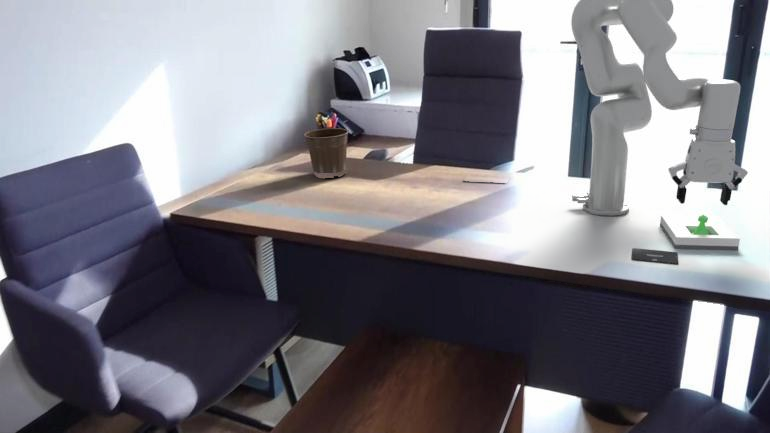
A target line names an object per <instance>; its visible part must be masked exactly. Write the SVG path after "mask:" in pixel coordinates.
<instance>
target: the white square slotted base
mask: <svg viewBox="0 0 770 433" xmlns="http://www.w3.org/2000/svg"><path fill="white" fill-rule="evenodd" d="M699 216H700V215H676V214H675V215H674V214H670V215H669V214H660V220H659V227H660V228H661V229H662V231H663V233H664V234H665V236H666V237H667V239H668V240H669V242H670V243H671V245H672V246H673V248H674V249H680V250H681V249H682V250H709V251H710V250H711V251H713V250H717V251H718V250H719V251H738V250H739V247H740V240H741V238H740V237H739V236H738V235H737V234H736V233H735V232H734V230H732V228H730V227H729V226H728V225H727V223H726V222H725V221H724V220H723V219H722V218H721V217H720V216H719V215H705V216H706V217H708V220H707V222H706V223H705V226H706V229H707V232H708V234H709V235H692V233H693V232H695V230H696V229H697V227H698V225H699V224H700V222H699V221H698V218H699Z"/></svg>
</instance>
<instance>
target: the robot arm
mask: <svg viewBox="0 0 770 433" xmlns="http://www.w3.org/2000/svg"><path fill="white" fill-rule="evenodd" d="M673 14H674V4H673V1H672V0H579V1H578V2H577V3H576V5H575V7H574V9H573V11H572V14H571V24H570V25H571V31H572V33H573V34H572V35H573V37H574V40H575V43H576V45H577V47H578V51H579V55H580V58H581V63H582V67H583V70H584V76H585V80H586V83H587V86H588V90H589V91H590V93H591V94H592V95H594V96H595V97H609V96H610V97H611V96H616V95H617V98H614V99H607V100H604V101H601V102H599V103H598V104H597V105H596V106H594V108H593V109H592V110H591V113H590V121H589V122H590V128H591V136H592V140H591V141H592V142H591V144H592V145H591V146H592V147H591V162H590V163H591V166H590V177H589V183H590V184H589V190H587V192H586V193H583V195H582V194H581V195H580V194H572V197H571V199H572V202H577V204H582V209H583V210H584V211H585V212H587V213H590V214H592V215H598V216H605V217H606V216H607V217H608V216H611V217H613V216H620V215H624V214H627V213H628V212H630V211H629V209H630V206H629V204H627V203H626V202H625V192H626V191H625V190H626V182H627V181H626V178H627V169H628V155H629V148H628V147H629V146H628V142H627V141H626V138H625V134H624V133H629V132H634V131H638V130H641V129H643V128H645V127H647V126H648V125H649V123H650V122H651V119H652V113H653V111H652V104H651V100H650V96H649V92H648V90H649V91H650V93H651V94H652V96H653V97H654V98H655V100H656V101H657V102H658V103H659V104H660V106H662V107H663V108H665V109H666V110H671V111H676V110H677V111H679V110H684V109H690V108H697V107H699V112H698V118H697V124H696V125H695V127H694V128H690V129H689V135H693V136H694V137H692V139H691V141H690V143H689V146H688V149H687V153H686V156H685V160H684V161H683V162H681V163H678V164H675V165H673V166H670V167H669V168H668V172H669V175H670V177H671V179H672V181H673V182H674V183H675V184H676V185H677V190H676V199H677V200H678V202H679V203H680V204H685V201H686V196H687V187H686V186H687V185H688V184H689V183H691V182H692V183H704V184H706V183H707V184H724V185H723V186H722V187H721V192H720V199H719V201H720V203H722V205H724V206H728V203H729V201H731V197H732V193H733V192H732V190H734V189H735V188H736V186H738V185H739V184H741V183H742V181H743V180H744V179H745V177H747V175H748V171H747V169H745V168H743V167H741V166H739V165H738V164H736V141H735V140H734V139H732V137H733V131H734V128H735V127H734V126H735V123H736V115H737V112H738V111H737V110H738V105H739V101H740V94H741V84H740V83H739V82H738V81H736V80H732V79H721V78H720V79H719V78H715V77H712V76H709V75H706V74H692V75H684V76H677V75H676V74H675V72H674V71H673V69H672V68H671V66H670V65H669V63H668V60H667V55H666V54H667V53H669V51H670V50H671V49H672V48H673V47H674V46H675V44H676V43H677V39H678V36H677V34H676V32H675V31H674V30H673V28H672V27H671V25H670V24H669V23H668V22H669V21H670V20H671V19H672V17H673ZM617 25H619V26H621V25H623V27H624V28H625V30H626V31H627V33H628V34H629V36H630V37H631V39H632V40H633V42H634V43H635V45H636V46H637V48H638V50H639V51H640V53H641V54H642V56H643V61H642V62H643V63H642V68H641V67H640V65H639V64H638V63H637V62H636V61H634V60H632V59H629V58H620V59H617V58H616V54H615V52H614V48H613V44H612V41H611V40H610V38H609V37H608V35H607V33H606V32H605V31H603V29H602V27H605V26H617ZM679 171H682V173H683V175H682V176H681V177H680V178H679V176H678V174H677V173H678V172H679ZM735 172H737V175H736V176H734V173H735Z"/></svg>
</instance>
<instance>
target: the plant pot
mask: <svg viewBox="0 0 770 433" xmlns="http://www.w3.org/2000/svg"><path fill="white" fill-rule="evenodd" d="M348 135H349V130H348V129H345V128H337V127H329V128H328V127H327V128H320V129H313V130H310V131H309V130H308V131H307V132H305V133H304V134H303V137H304V138H305V141H306V145H307V147H308V152H309V156H310V163H311V168H312V170H313V171H314V172H317V173H337V172H341V171H344V170H345V169H346V170H347V146H348V145H347V144H348ZM313 171H312V172H313Z"/></svg>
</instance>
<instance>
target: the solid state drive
mask: <svg viewBox="0 0 770 433" xmlns="http://www.w3.org/2000/svg"><path fill="white" fill-rule="evenodd" d="M678 254H679V253H678V252H677V251H670V250H669V251H667V250H666V251H665V250H660V249H659V250H656V249H646V248H645V249H644V248H636V247H635V248H634V247H633V248H632V250H631V261H637V262H645V263H647V262H648V263H656V264H666V265H676V266H677V265H679V255H678Z"/></svg>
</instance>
